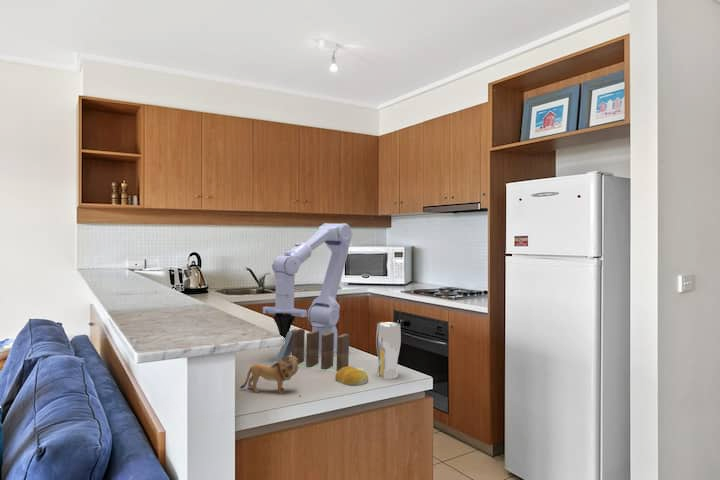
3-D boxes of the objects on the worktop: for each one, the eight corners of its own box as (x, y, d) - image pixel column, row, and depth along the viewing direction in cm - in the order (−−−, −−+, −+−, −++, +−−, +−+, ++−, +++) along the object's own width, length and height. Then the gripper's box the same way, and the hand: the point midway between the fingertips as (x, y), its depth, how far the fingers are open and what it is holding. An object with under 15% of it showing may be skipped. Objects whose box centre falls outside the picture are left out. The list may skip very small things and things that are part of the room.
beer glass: (400, 380, 137) (402, 326, 136) (375, 380, 136) (377, 326, 136) (398, 373, 144) (399, 322, 143) (374, 372, 143) (376, 321, 143)
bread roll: (351, 389, 129) (352, 374, 129) (330, 381, 136) (331, 366, 135) (375, 383, 134) (375, 368, 134) (353, 375, 141) (354, 361, 141)
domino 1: (275, 360, 151) (287, 331, 149) (284, 356, 156) (295, 328, 154) (280, 363, 150) (291, 334, 149) (288, 359, 155) (300, 331, 153)
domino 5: (336, 371, 143) (337, 336, 143) (343, 366, 148) (344, 333, 148) (341, 371, 143) (342, 337, 142) (348, 367, 147) (349, 334, 147)
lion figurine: (298, 387, 129) (299, 353, 128) (297, 394, 123) (297, 358, 123) (241, 387, 128) (242, 352, 128) (237, 394, 122) (238, 357, 122)
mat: (283, 358, 157) (283, 357, 157) (365, 370, 146) (365, 368, 146) (271, 364, 150) (271, 363, 150) (356, 376, 140) (356, 375, 140)
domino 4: (320, 368, 145) (321, 335, 145) (328, 364, 150) (329, 332, 150) (325, 369, 145) (326, 335, 144) (333, 365, 149) (333, 332, 149)
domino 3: (305, 366, 147) (306, 333, 147) (313, 362, 152) (314, 330, 151) (310, 367, 146) (311, 333, 146) (318, 363, 151) (319, 330, 151)
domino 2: (291, 364, 149) (292, 331, 149) (299, 360, 154) (300, 328, 153) (295, 365, 148) (296, 332, 148) (303, 361, 153) (304, 329, 153)
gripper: (257, 294, 152) (256, 338, 152) (299, 297, 146) (298, 343, 146) (270, 291, 158) (269, 334, 158) (310, 295, 153) (309, 338, 153)
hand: (283, 338), depth 153 cm, fingers closed
